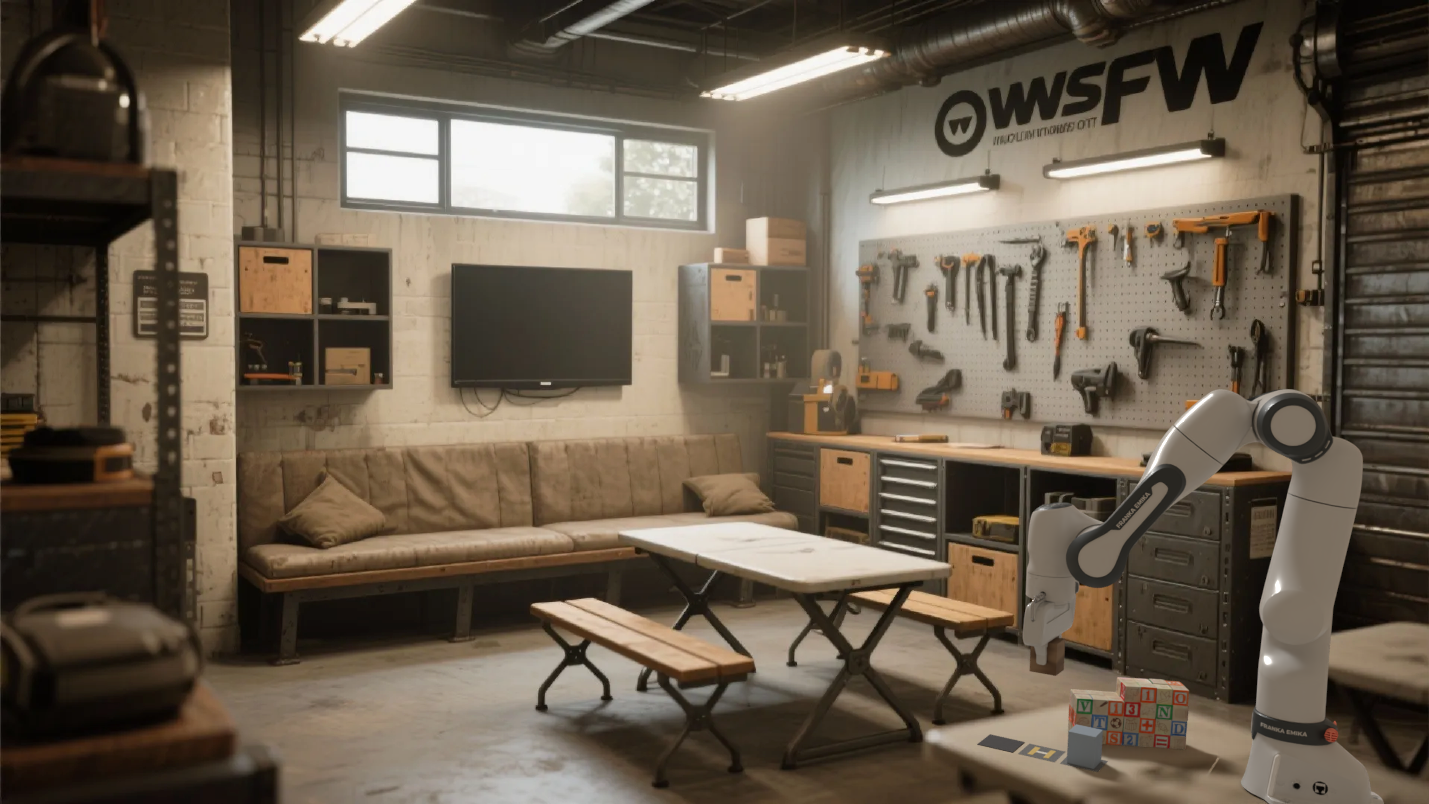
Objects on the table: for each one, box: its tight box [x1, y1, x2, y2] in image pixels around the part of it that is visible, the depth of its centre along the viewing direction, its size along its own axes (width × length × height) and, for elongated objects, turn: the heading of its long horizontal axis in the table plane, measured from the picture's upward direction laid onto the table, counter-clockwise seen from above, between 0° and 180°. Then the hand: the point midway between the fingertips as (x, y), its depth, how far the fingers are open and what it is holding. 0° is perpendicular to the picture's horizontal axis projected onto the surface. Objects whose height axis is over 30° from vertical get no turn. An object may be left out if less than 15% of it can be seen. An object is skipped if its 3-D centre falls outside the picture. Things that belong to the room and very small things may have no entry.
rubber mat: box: [976, 734, 1025, 754], centre depth 229 cm, size 7×7×1 cm
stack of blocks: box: [1067, 676, 1190, 750], centre depth 232 cm, size 21×6×12 cm, turn 85°
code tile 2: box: [1059, 756, 1108, 773], centre depth 220 cm, size 7×7×1 cm
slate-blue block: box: [1066, 724, 1103, 769], centre depth 220 cm, size 5×5×6 cm
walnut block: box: [1029, 637, 1066, 677], centre depth 223 cm, size 5×5×6 cm
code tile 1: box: [1017, 743, 1066, 763], centre depth 224 cm, size 7×7×1 cm
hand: (1047, 660), depth 223 cm, fingers closed on walnut block, 5 cm apart
